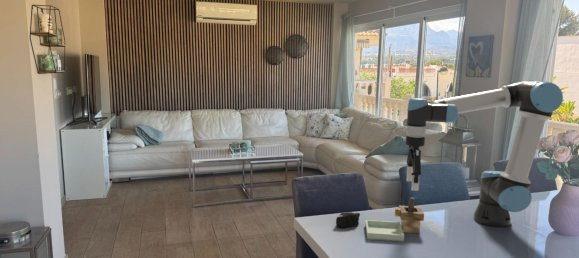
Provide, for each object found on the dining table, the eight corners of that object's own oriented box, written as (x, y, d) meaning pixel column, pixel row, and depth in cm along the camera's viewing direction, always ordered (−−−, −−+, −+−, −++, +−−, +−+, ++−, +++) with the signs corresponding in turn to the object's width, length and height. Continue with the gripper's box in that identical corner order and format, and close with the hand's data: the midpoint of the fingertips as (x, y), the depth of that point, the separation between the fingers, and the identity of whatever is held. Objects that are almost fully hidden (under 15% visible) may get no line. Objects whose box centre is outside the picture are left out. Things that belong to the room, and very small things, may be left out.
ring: (419, 213, 180) (420, 206, 180) (423, 220, 172) (424, 213, 171) (393, 211, 182) (394, 205, 181) (396, 219, 173) (396, 212, 172)
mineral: (355, 231, 175) (356, 218, 174) (334, 228, 178) (335, 215, 177) (359, 223, 185) (360, 210, 184) (339, 220, 188) (340, 208, 187)
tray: (399, 228, 179) (399, 221, 179) (404, 242, 165) (404, 235, 165) (365, 226, 181) (365, 219, 181) (367, 239, 167) (367, 233, 166)
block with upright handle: (417, 227, 180) (419, 196, 178) (419, 233, 174) (421, 201, 172) (400, 226, 181) (402, 195, 179) (402, 232, 175) (404, 200, 173)
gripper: (402, 130, 184) (399, 177, 187) (411, 140, 160) (407, 194, 163) (419, 131, 183) (416, 178, 186) (431, 141, 159) (427, 195, 162)
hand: (412, 185), depth 175 cm, fingers open, 13 cm apart
